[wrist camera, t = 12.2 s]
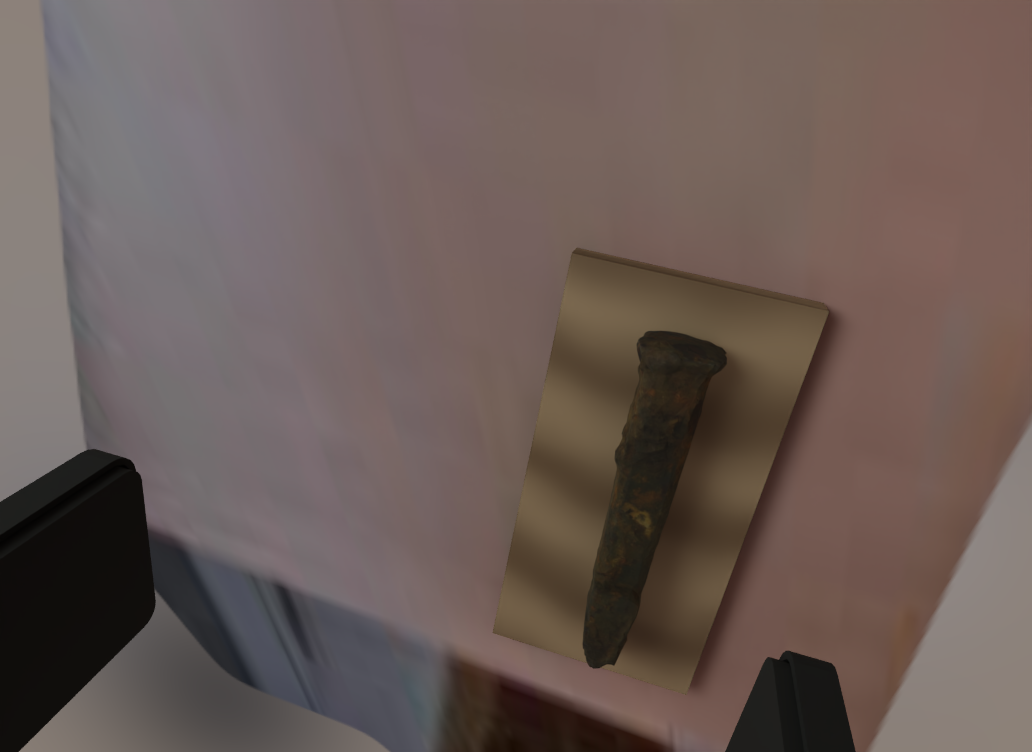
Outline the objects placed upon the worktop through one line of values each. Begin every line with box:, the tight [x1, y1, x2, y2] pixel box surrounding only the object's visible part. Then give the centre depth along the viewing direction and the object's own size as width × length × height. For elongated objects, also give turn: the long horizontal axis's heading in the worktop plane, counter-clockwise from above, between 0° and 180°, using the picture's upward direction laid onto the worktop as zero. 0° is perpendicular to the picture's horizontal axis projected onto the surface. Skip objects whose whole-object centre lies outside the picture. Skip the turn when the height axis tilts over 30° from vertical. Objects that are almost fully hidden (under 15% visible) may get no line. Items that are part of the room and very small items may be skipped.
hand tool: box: [582, 331, 727, 669], centre depth 34 cm, size 19×4×5 cm, turn 167°
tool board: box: [493, 248, 829, 695], centre depth 37 cm, size 24×12×2 cm, turn 169°
